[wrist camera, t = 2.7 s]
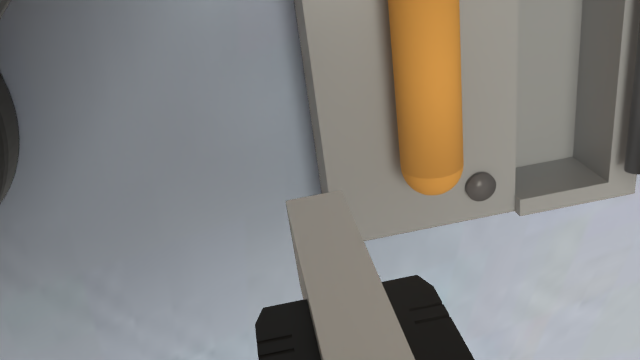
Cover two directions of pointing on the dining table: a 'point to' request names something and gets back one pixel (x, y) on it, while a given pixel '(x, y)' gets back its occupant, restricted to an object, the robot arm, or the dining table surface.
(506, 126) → the hinged lid box
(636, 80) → the cover
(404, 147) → the capsule
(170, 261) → the dining table surface
